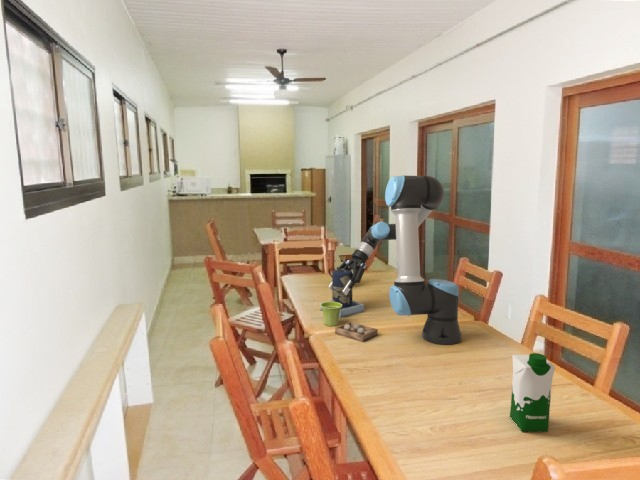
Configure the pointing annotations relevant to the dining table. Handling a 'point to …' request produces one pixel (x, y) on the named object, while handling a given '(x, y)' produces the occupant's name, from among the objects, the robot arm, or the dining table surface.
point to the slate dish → (350, 309)
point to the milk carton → (531, 391)
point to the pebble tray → (356, 331)
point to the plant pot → (331, 312)
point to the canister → (341, 287)
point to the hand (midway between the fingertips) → (337, 291)
